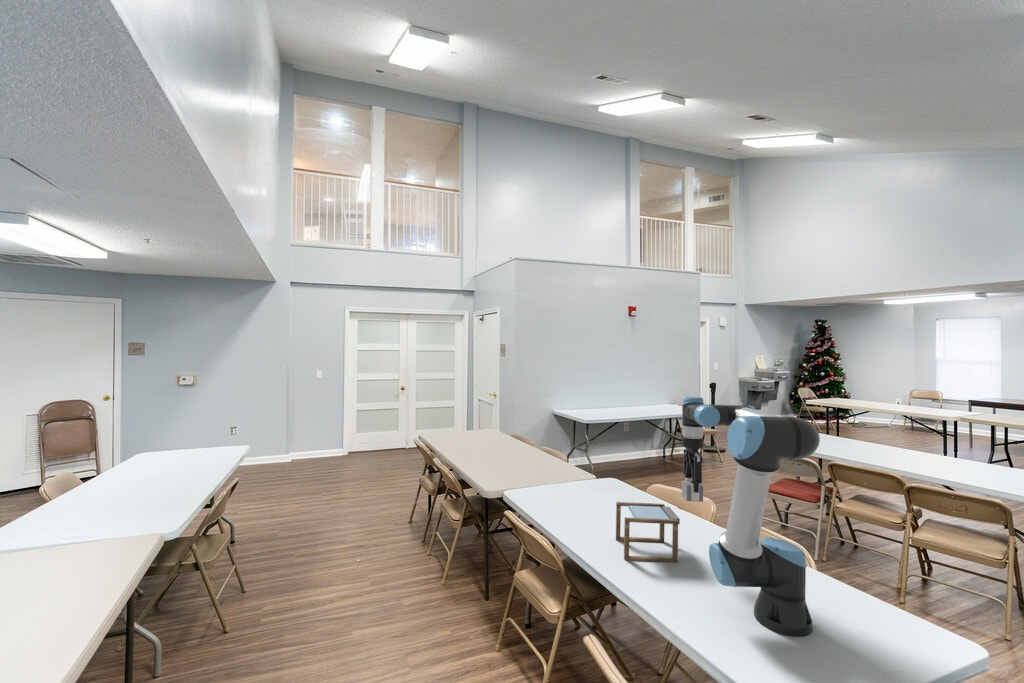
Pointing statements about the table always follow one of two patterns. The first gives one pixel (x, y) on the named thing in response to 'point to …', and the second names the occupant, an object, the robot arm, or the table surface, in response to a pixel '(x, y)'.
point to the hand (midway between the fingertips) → (692, 497)
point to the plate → (653, 512)
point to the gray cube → (687, 491)
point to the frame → (660, 539)
